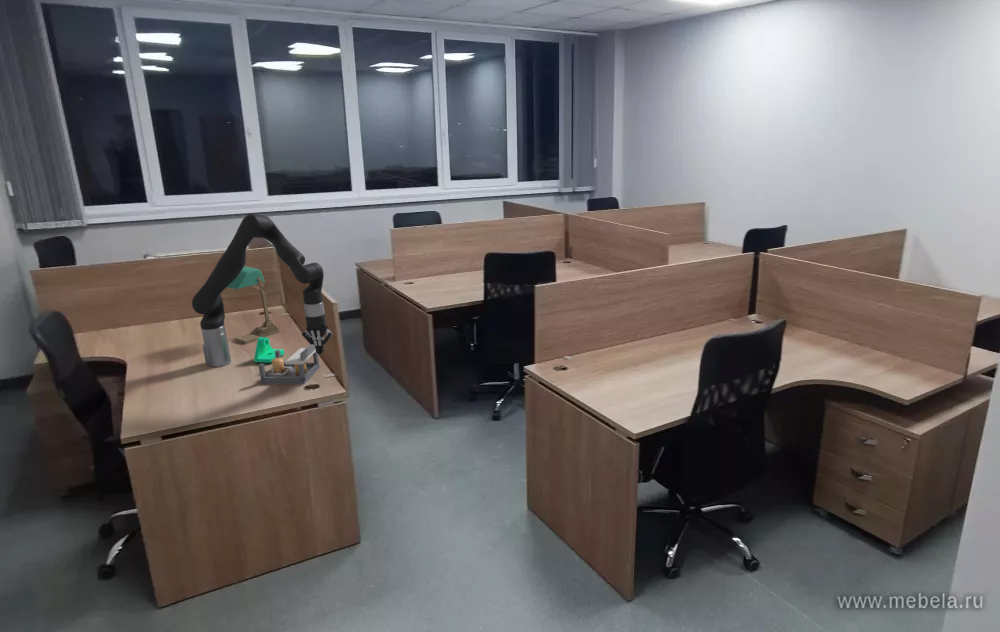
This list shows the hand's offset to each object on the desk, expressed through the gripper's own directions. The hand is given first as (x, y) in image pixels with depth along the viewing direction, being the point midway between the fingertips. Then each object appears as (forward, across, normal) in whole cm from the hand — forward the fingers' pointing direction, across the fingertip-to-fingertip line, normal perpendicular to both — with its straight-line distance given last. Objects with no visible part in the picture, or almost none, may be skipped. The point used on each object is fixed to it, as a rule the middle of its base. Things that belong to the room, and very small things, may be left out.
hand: (320, 353), depth 237 cm
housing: (+10, +14, 0) cm, 17 cm away
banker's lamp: (+10, +52, -45) cm, 69 cm away
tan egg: (+9, +19, 0) cm, 21 cm away
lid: (+2, +8, 0) cm, 8 cm away
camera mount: (+10, +31, -17) cm, 37 cm away
